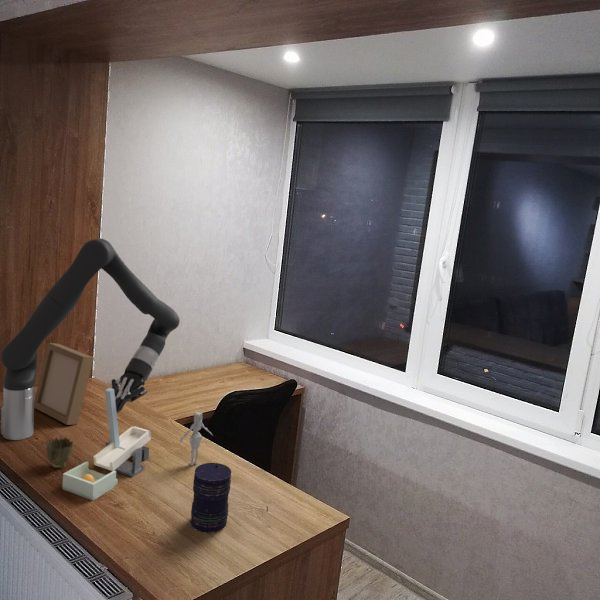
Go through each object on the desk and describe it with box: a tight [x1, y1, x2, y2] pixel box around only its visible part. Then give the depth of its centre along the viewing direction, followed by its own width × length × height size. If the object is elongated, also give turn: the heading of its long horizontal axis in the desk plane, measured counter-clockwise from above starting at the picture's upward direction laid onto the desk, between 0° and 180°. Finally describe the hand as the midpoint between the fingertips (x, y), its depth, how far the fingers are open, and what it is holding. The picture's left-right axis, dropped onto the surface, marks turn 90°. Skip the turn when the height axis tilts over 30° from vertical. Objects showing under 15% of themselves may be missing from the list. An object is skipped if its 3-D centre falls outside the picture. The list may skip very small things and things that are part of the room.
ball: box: [82, 474, 94, 483], centre depth 162 cm, size 4×4×4 cm
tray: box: [62, 460, 119, 502], centre depth 163 cm, size 11×10×5 cm
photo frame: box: [34, 342, 94, 426], centre depth 210 cm, size 15×22×25 cm
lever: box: [93, 387, 152, 472], centre depth 171 cm, size 9×18×21 cm, turn 158°
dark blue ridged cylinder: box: [190, 462, 232, 534], centre depth 151 cm, size 10×10×15 cm
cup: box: [45, 437, 74, 470], centre depth 172 cm, size 8×7×8 cm
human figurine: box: [178, 411, 213, 467], centre depth 181 cm, size 12×4×18 cm, turn 130°
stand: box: [105, 439, 150, 478], centre depth 178 cm, size 12×12×8 cm
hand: (114, 411), depth 173 cm, fingers closed
